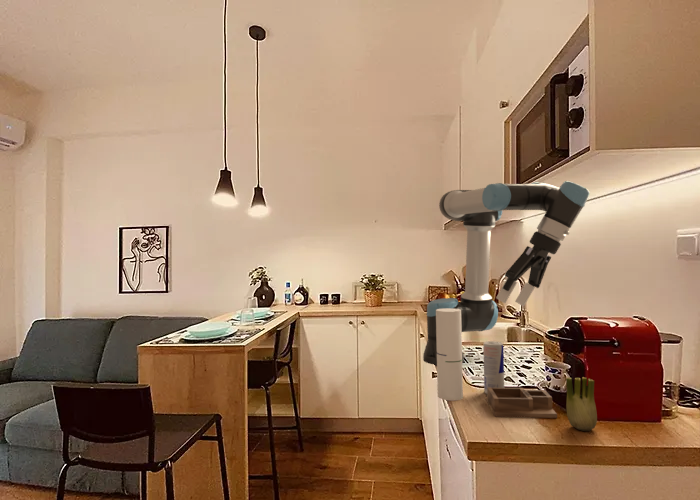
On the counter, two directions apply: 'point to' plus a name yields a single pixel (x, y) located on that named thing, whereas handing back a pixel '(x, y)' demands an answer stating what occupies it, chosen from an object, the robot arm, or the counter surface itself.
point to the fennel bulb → (581, 404)
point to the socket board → (520, 403)
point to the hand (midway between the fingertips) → (510, 302)
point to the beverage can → (493, 365)
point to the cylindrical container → (449, 354)
